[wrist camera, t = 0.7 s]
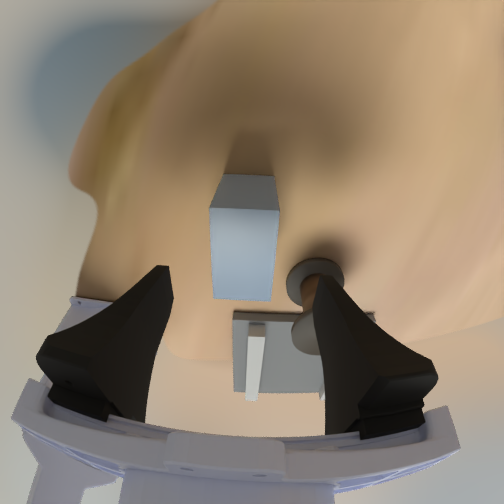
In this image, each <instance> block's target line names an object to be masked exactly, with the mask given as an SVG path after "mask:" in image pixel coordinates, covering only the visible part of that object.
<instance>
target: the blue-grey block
mask: <svg viewBox="0 0 504 504" xmlns="http://www.w3.org/2000/svg"><path fill="white" fill-rule="evenodd" d="M209 214H210V242H211V263H212V282H213V298H214V299H229V300H248V301H271V293H272V284H273V275H274V265H275V256H276V246H277V236H278V226H279V215H280V208H279V202H278V196H277V190H276V184H275V178H274V176H263V175H242V174H223V176H222V179H221V181H220V183H219V186H218V188H217V190H216V193H215V195H214V198H213V200H212V202H211V205H210V207H209Z"/></svg>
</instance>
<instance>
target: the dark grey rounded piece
mask: <svg viewBox="0 0 504 504" xmlns="http://www.w3.org/2000/svg"><path fill="white" fill-rule="evenodd" d="M320 275H332V276H333V277H334V278H335V279H336V281H337V282H338V283H339V284H340V286H341V287H342V288H343V287H344V276H343V274H342V271H341V269H340V267H339V266H338V265H337V264H336V263H334V262H333V261H331V260H328V259H325V258H312V259H308V260H305V261H303V262H301V263H299V264H297V265H296V266H295V267H294V268H293V269H292V270H291V271H290V273H289V275H288V277H287V280H286V287H287V293H288V296H289V298H290V299H291V300H292V301H293V302H294V303H296V304H297V305H300V306H303V312H304V313H302V314H301V315H300V316H299V317H298V318H297V319H296V320H295V322H294V323H293V325H292V328H291V335H292V342H293V345H294V346H295V347H296V348H297V349H298V350H299V351H301V352H303V353H305V354H309V355H318V356H320V351H319V346H318V342H317V337H316V333H315V328H314V322H313V311H312V305H313V301H314V297H315V293H316V289H317V285H318V281H319V277H320Z"/></svg>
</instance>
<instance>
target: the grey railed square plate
mask: <svg viewBox="0 0 504 504" xmlns="http://www.w3.org/2000/svg"><path fill="white" fill-rule="evenodd" d="M366 315H367V316H368V317H369V318H370V319H371V320H372V321H373V322H374V323H375V322H376V320H375V318H374V315H373V314H366ZM299 316H300V315H297V314H264V313H242V312H233V376H234V377H233V378H234V392H245V393H246V394H245V400H246V401H257V398H258V393H316V392H319V397H320V400H325V389H324V376H323V366H322V360H321V356H318V355H309V354H305V353H303V352H301V351H299V350H298V349H297V348H296V347H295V346H294V345H293V342H292V335H291V328H292V325H293V323H294V322H295V320H296V319H297V318H298V317H299Z"/></svg>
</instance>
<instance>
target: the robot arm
mask: <svg viewBox="0 0 504 504" xmlns="http://www.w3.org/2000/svg"><path fill="white" fill-rule="evenodd" d="M173 299H174V296H173V290H172V284H171V278H170V271H169V266H162V265H157V266H156V267H154V268H153V269H152V270H151V271H150V272H149V273H148V274H147V275H145V276H144V277H143V278H142V279H141V280H140V281H139V282H138V283H137V284H135V285H134V286H133V287H132V288H131V289H130V290H128V291H127V292H126V293H125V294H124V295H122V296H121V297H120V298H119V299H117V300H116V301H115V302H106V301H99V300H93V299H86V298H80V297H74V296H72V297H71V298H70V302H71V304H72V305H71V307H70V308H69V310H68V311H67V313H66V315H65V316H64V318H63V319H62V321H61V323H60V324H59V326H58V328H57V329H56V331H55V333H54V334H51V335H48V336H47V338H46V339H45V341H44V343H43V345H42V346H41V348H40V350H39V352H38V353H37V355H36V360H37V363H38V365H39V367H40V368H41V370H42V371H43V372H44V375H43V377H42V379H41V381H40V382H38V381H35V380H33V379H31V378H29V379H28V381H27V383H26V385H25V387H24V389H23V391H22V394H21V396H20V398H19V400H18V402H17V405H16V407H15V409H14V412H13V414H12V416H11V419H12V420H13V421H14V422H15V423H16V424H18V425H19V426H20V427H21V428H22V431H23V438H24V441H25V443H26V444H27V446H28V447H29V449H30V451H31V453H32V454H33V456H34V457H35V459H36V461H37V462H38V464H39V465H38V468H37V471H36V474H35V477H34V480H33V483H32V486H31V490H30V493H29V497H28V500H27V504H80V502H81V500H82V497H83V494H84V491H85V490H86V489H89V488H94V487H100V486H105V485H109V484H113V483H115V482H116V480H117V478H118V477H122V478H124V479H123V483H122V488H121V494H120V499H119V504H335V502H334V494H337V493H342V492H348V491H352V490H357V489H361V488H365V487H369V486H373V485H377V484H381V483H384V482H388V481H391V480H394V479H397V478H401V477H404V476H407V475H410V474H413V473H415V472H418V471H421V470H424V469H427V468H429V467H431V466H433V465H435V464H437V463H439V462H440V461H442V460H444V459H446V458H447V457H449V456H451V455H453V454H454V453H456V452H457V451H459V450H460V444H459V441H458V437H457V434H456V430H455V427H454V424H453V421H452V418H451V415H450V412H449V409H448V406H442V407H439V408H436V409H432V410H429V411H427V412H425V413H423V412H422V408H423V407H424V402H423V398H424V397H425V396H426V395H427V394H428V393H429V392H430V391H431V390H432V389H433V387H434V386H435V385H436V383H437V380H438V374H437V372H436V370H435V367H434V365H433V363H432V361H431V360H430V359H428V358H426V357H424V356H422V355H420V354H418V353H416V352H414V351H413V350H411V349H409V348H407V347H406V346H404V345H403V344H401V343H400V342H398V341H397V340H396V339H394V338H393V337H391V336H390V335H389V334H387V333H386V332H385V331H384V330H382V329H381V328H380V327H379V326H378V325H377V324H376V323H374V322H373V321H372V320H371V319H370V318H369V317H368V316H367V315H366V314H365V313H364V312H363V311H362V310H361V309H360V308H359V307H358V305H357V304H356V303H355V302H354V301H353V300H352V299H351V298H350V296H349V295H348V294H347V293H346V292H345V290H344V289H343V288H342V287H341V286H340V284H339V283H338V282H337V281H336V279H335V278H334V277H333V276H332V275H320V277H319V281H318V285H317V289H316V293H315V297H314V301H313V305H312V311H313V322H314V328H315V333H316V337H317V342H318V346H319V351H320V356H321V360H322V366H323V376H324V389H325V435H321V436H307V437H243V436H242V437H241V436H228V435H216V434H206V433H198V432H191V431H184V430H177V429H171V428H166V427H160V426H156V425H151V424H146V423H145V416H146V406H147V398H148V391H149V385H150V380H151V373H152V369H153V365H154V360H155V356H156V355H157V350H158V347H159V344H160V341H161V339H162V336H163V333H164V330H165V328H166V325H167V322H168V319H169V317H170V313H171V309H172V304H173Z"/></svg>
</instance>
